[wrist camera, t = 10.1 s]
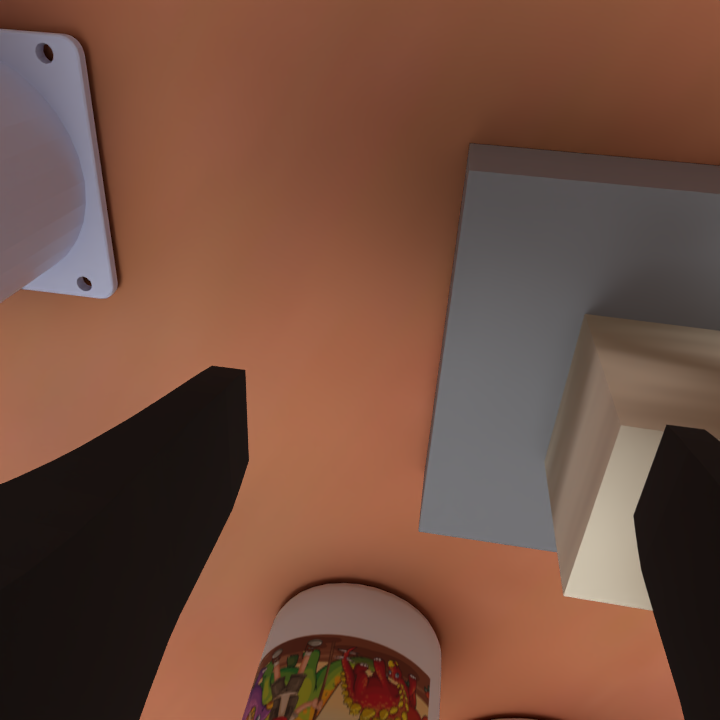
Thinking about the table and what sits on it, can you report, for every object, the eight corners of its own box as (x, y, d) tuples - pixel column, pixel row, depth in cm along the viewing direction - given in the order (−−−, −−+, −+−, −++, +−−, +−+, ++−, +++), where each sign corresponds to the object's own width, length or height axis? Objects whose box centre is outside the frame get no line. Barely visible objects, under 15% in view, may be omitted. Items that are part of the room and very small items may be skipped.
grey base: (424, 473, 25) (418, 531, 22) (469, 143, 18) (469, 170, 16) (761, 521, 23) (796, 588, 21) (930, 184, 17) (1010, 221, 15)
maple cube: (544, 462, 20) (563, 596, 16) (584, 313, 17) (620, 425, 13) (716, 487, 19) (784, 632, 15) (784, 338, 17) (890, 463, 12)
